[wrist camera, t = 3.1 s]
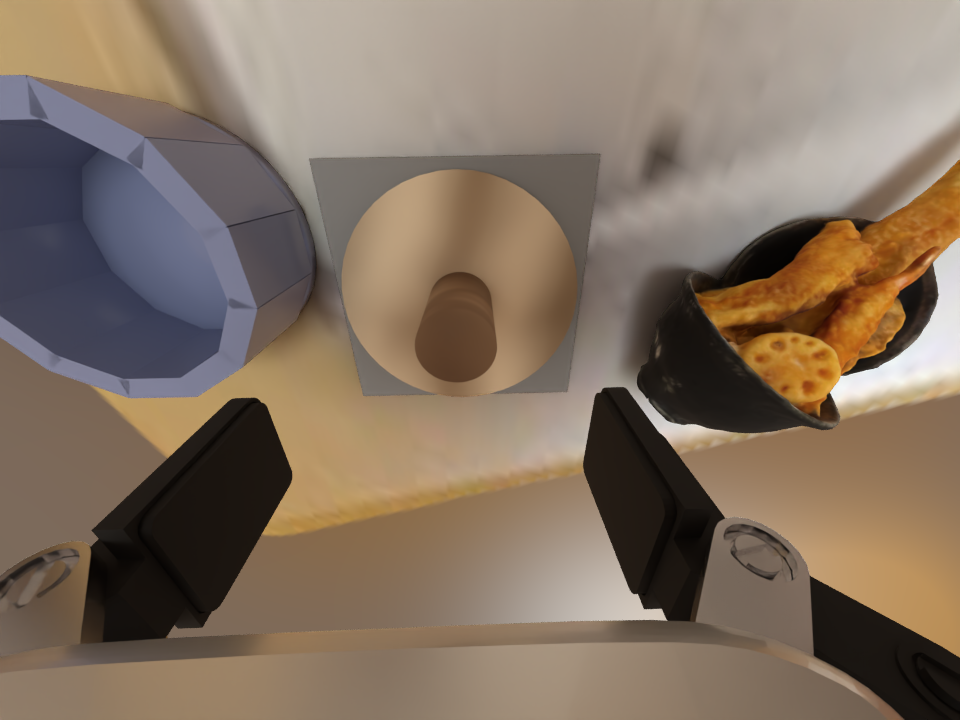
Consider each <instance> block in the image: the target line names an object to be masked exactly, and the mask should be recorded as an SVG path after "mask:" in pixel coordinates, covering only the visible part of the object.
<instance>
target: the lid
mask: <svg viewBox="0 0 960 720" xmlns="http://www.w3.org/2000/svg"><path fill="white" fill-rule="evenodd" d="M342 294H343V301H344V306H345V309H346V313H347V316H348V319H349V322H350V324H351V326H352V328H353V331H354V333H355V334H356V336H357V338H358V339H359V341H360V343H361V344H362V346H363V347H364V348H365V349H366V351H367V352H368V353H369V355H370V356H371V357H372V358H373V359H374V360H375V361H376V362H377V363H378V364H379V365H380V366H382V367H383V368H384V369H385V370H386V371H388V372H389V373H390V374H392V375H393V376H395V377H396V378H398V379H400V380H401V381H403V382H405V383H407V384H409V385H411V386H413V387H416V388H418V389H421V390H424V391H427V392H431V393H435V394H439V395H446V396H457V397H468V396H479V395H485V394H490V393H494V392H497V391H501V390H504V389H506V388H508V387H511V386H513V385H515V384H517V383H519V382H521V381H522V380H524V379H526V378H527V377H529V376H530V375H532V374H533V373H534V372H536V371H537V370H538V369H539V368H540V367H541V366H543V365H544V364H545V363H546V362H547V361H548V360H549V358H550V357H551V356H552V355H553V354H554V353H555V351H556V350H557V348H558V347H559V345H560V344H561V342H562V341H563V339H564V337H565V335H566V333H567V331H568V329H569V327H570V324H571V321H572V318H573V315H574V310H575V305H576V300H577V272H576V267H575V262H574V257H573V254H572V251H571V248H570V245H569V243H568V240H567V238H566V236H565V235H564V233H563V231H562V229H561V227H560V225H559V224H558V223H557V221H556V220H555V219H554V217H553V216H552V215H551V213H550V212H549V211H548V210H547V209H546V208H545V207H544V206H543V205H542V204H541V203H540V202H539V201H538V200H537V199H536V198H534V197H533V196H532V195H530V194H529V193H528V192H526V191H525V190H524V189H522V188H520V187H518V186H517V185H515V184H513V183H511V182H509V181H507V180H505V179H503V178H500V177H497V176H495V175H492V174H489V173H484V172H479V171H475V170H462V169H452V170H441V171H435V172H431V173H427V174H423V175H419V176H416V177H414V178H412V179H409V180H407V181H404V182H402V183H400V184H399V185H397V186H396V187H394V188H392V189H391V190H389V191H387V192H386V193H385V194H384V195H383V196H381V197H380V198H379V199H378V200H377V201H375V202H374V203H373V204H372V206H371V207H370V208H369V209H368V210H367V211H366V212H365V214H364V215H363V216H362V218H361V219H360V221H359V222H358V224H357V226H356V227H355V229H354V231H353V233H352V235H351V238H350V240H349V242H348V244H347V248H346V252H345V256H344V259H343V267H342Z"/></svg>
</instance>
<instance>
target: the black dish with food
mask: <svg viewBox="0 0 960 720" xmlns="http://www.w3.org/2000/svg"><path fill="white" fill-rule="evenodd" d="M957 238H960V160H958V161H957V163H956V164H955V165H954V166H953V167H952V168H951V169H950V170H949V171H948V172H947V173H946V174H945V175H943V176H942V177H941V178H940V179H939V180H938V181H937V182H935V183H934V184H933V185H932V186H931V187H930V188H928V189H927V190H926V191H925V192H924V193H922V194H921V195H920V196H918V197H917V198H915V199H914V200H913V201H912V202H911V203H909V204H908V205H907V206H905V207H904V208H902V209H899V210H898V211H896V212H894V213H893V214H891V215H889V216H887V217H885V218H884V219H882V220H880V221H878V222H872V221H868V220H865V219H861V218H856V217H831V218H818V219H807V220H802V221H799V222H795V223H791V224H788V225H786V226H782V227H780V228H777V229H776V230H774V231H771V232H769V233H768V234H766V235H764V236H763V237H761V238H760V239H758V240H757V241H755V242H754V243H752V244H751V245H750V246H748V247H747V248H746V249H745V251H743V253H742V254H741V255H740V256H739V258H738V259H737V260H736V261H735V262H734V263H733V264H732V266H731V267H730V268H729V270H728V271H727V273H726V274H725V276H724V278H723V279H721V280H717V279H715V278H712V277H710V276H709V275H707V274H705V273H702V272H699V271H694V272H692V273H690V274H688V275H687V276H686V277H685V279H684V282H683V284H682V290H681V294H680V296H679V297H678V298H677V299H676V300H675V301H674V302H673V303H671V304H670V305H669V306H668V308H667V309H666V310H665V311H664V313H663V314H662V317H661V318H660V320H659V321H658V323H657V330H656V333H655V337H654V340H653V343H652V346H651V350H650V356H649V360H648V362H647V363H646V364H645V365H643V366H641V370H640V372H639V373H638V377H637V386H638V388H639V390H640V391H641V392H642V393H643V394H644V395H645V397H646V398H649V402H650V403H651V404H652V406H653V407H654V408H655V409H656V410H657V411H658V412H659V413H660V414H661V415H662V416H663V417H664V418H665V419H666V420H667V421H669V422H672V423H677V424H681V425H686V424H696V425H700V426H703V427H706V428H710V429H715V430H723V431H729V432H737V433H761V432H772V431H778V430H782V429H788V428H793V427H798V426H807V427H812V428H816V429H820V430H829V429H832V428H834V427H835V426H837V425H838V423H839V421H840V415H839V412H838V409H837V407H836V405H835V403H834V400H833V398H832V396H831V394H830V391H831V390H832V389H833V387H834V386H835V385H836V383H837V382H838V380H839V379H840V376H846V375H849V374H853V373H857V372H861V371H865V370H869V369H874V368H878V367H879V366H880V365H882V364H883V363H886V362H888V361H890V360H892V359H894V358H895V357H896V356H898V355H899V354H901V353H902V352H903V351H904V350H905V349H907V348H908V347H909V346H910V345H911V344H912V343H913V342H914V341H915V340H917V338H918V337H919V336H920V334H921V333H922V331H923V329H924V328H925V326H926V325H927V324H928V322H929V321H930V318H931V315H932V313H933V311H934V309H935V307H936V304H937V299H938V287H937V282H936V276H935V272H934V267H933V262H934V261H935V260H936V259H937V258H938V256H939V255H940V254H941V253H942V252H943V251H945V250H946V249H947V248H948V246H949V245H950V244H951V243H952V242H954V241H955V240H956V239H957Z"/></svg>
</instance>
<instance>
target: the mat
mask: <svg viewBox="0 0 960 720" xmlns="http://www.w3.org/2000/svg"><path fill="white" fill-rule="evenodd" d="M309 161H310V165H311V169H312V174H313V178H314V182H315V187H316V191H317V195H318V200H319V204H320V209H321V213H322V217H323V222H324V226H325V230H326V235H327V239H328V244H329V248H330V252H331V257H332V261H333V265H334V270H335V274H336V279H337V283H338V287H339V292H340V296H341V300H342V305H343V309H344V314H345V318H346V322H347V327H348V331H349V335H350V340H351V344H352V348H353V353H354V357H355V362H356V366H357V370H358V375H359V379H360V383H361V388H362V392H363V396H388V395H439V394H435V393H431V392H427V391H424V390H421V389H418V388H416V387H413V386H411V385H409V384H407V383H405V382H403V381H401V380H400V379H398V378H396V377H395V376H393V375H392V374H390V373H389V372H388V371H386V370H385V369H384V368H383V367H382V366H380V365H379V364H378V363H377V362H376V361H375V360H374V359H373V358H372V357H371V356H370V355H369V353H368V352H367V351H366V349H365V348H364V347H363V346H362V344H361V343H360V341H359V339H358V338H357V336H356V334H355V333H354V331H353V328H352V326H351V324H350V322H349V319H348V316H347V313H346V309H345V306H344V301H343V294H342V267H343V259H344V256H345V252H346V248H347V244H348V242H349V240H350V238H351V235H352V233H353V231H354V229H355V227H356V226H357V224H358V222H359V221H360V219H361V218H362V216H363V215H364V214H365V212H366V211H367V210H368V209H369V208H370V207H371V206H372V204H373V203H374V202H375V201H377V200H378V199H379V198H380V197H381V196H383V195H384V194H385V193H386V192H387V191H389V190H391V189H392V188H394V187H396V186H397V185H399V184H400V183H402V182H404V181H407V180H409V179H412V178H414V177H416V176H419V175H423V174H427V173H431V172H435V171H441V170H452V169H462V170H475V171H479V172H484V173H489V174H492V175H495V176H497V177H500V178H503V179H505V180H507V181H509V182H511V183H513V184H515V185H517V186H518V187H520V188H522V189H524V190H525V191H526V192H528V193H529V194H530V195H532V196H533V197H534V198H536V199H537V200H538V201H539V202H540V203H541V204H542V205H543V206H544V207H545V208H546V209H547V210H548V211H549V212H550V213H551V215H552V216H553V217H554V219H555V220H556V221H557V223H558V224H559V225H560V227H561V229H562V231H563V233H564V235H565V236H566V238H567V240H568V243H569V245H570V248H571V251H572V254H573V257H574V262H575V267H576V272H577V300H576V305H575V310H574V315H573V318H572V321H571V324H570V327H569V329H568V331H567V333H566V335H565V337H564V339H563V341H562V342H561V344H560V345H559V347H558V348H557V350H556V351H555V353H554V354H553V355H552V356H551V357H550V358H549V360H548V361H547V362H546V363H545V364H544V365H543V366H541V367H540V368H539V369H538V370H537V371H536V372H534V373H533V374H532V375H530V376H529V377H527V378H526V379H524V380H522V381H521V382H519V383H517V384H515V385H513V386H511V387H508V388H506V389H504V390H501V391H497V392H494V393H544V392H567V390H568V383H569V376H570V369H571V362H572V355H573V347H574V340H575V333H576V326H577V319H578V312H579V304H580V297H581V290H582V283H583V276H584V269H585V261H586V254H587V247H588V240H589V233H590V226H591V218H592V211H593V204H594V197H595V190H596V183H597V176H598V168H599V161H600V154H564V155H503V156H441V157H380V158H318V159H309ZM490 394H492V393H490Z"/></svg>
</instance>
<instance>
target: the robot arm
mask: <svg viewBox="0 0 960 720" xmlns="http://www.w3.org/2000/svg"><path fill="white" fill-rule="evenodd" d="M583 468H584V473H585V476H586V479H587V481H588V484H589V486H590V489H591V491H592V494H593V497H594V499H595V502H596V505H597V507H598V510H599V512H600V515H601V517H602V520H603V522H604V525H605V528H606V530H607V533H608V535H609V538H610V541H611V543H612V546H613V548H614V551H615V553H616V556H617V559H618V561H619V563H620V566H621V569H622V571H623V574H624V576H625V579H626V581H627V584H628V587H629V589H630V590H631V592H632V593H633V594H638V595H639V598H640V600H641V603H642V605H643V608H644V609H662V610H663V612H664V615H665V617H666V619H667V620H668V621H660V620H659V621H658V620H632V621H631V620H628V621H627V620H626V621H570V622H541V623H514V624H487V625H458V626H433V627H408V628H385V629H360V630H337V631H314V632H290V633H270V634H248V635H228V636H206V637H185V638H168V637H167V635H168V634H169V632H170V631H171V629H172V627H173V626H174V625H175V626H176V627H177V628H201V627H203V626H204V624H205V622H206V621H207V619H208V617H209V615H210V614H211V612H212V611H214V610H215V609H217V608H218V607H219V606H220V605H221V603H222V602H223V600H224V599H225V597H226V595H227V593H228V591H229V590H230V588H231V586H232V585H233V583H234V581H235V579H236V578H237V576H238V574H239V573H240V571H241V569H242V567H243V566H244V564H245V562H246V560H247V559H248V557H249V555H250V553H251V552H252V550H253V548H254V546H255V545H256V543H257V541H258V540H259V538H260V536H261V534H262V533H263V531H264V529H265V527H266V526H267V524H268V522H269V520H270V519H271V517H272V515H273V514H274V512H275V510H276V508H277V507H278V505H279V503H280V501H281V500H282V498H283V496H284V494H285V493H286V491H287V489H288V488H289V486H290V484H291V481H292V470H291V468H290V465H289V463H288V460H287V457H286V455H285V452H284V450H283V447H282V444H281V442H280V439H279V437H278V434H277V432H276V429H275V426H274V424H273V421H272V419H271V416H270V414H269V411H268V408H267V406H266V405H265V404H264V403H261V402H260V400H258V399H257V398H235V399H231V400H230V401H228V402H227V403H226V404H225V405H224V406H223V407H222V408H221V409H220V410H219V411H218V412H217V413H216V414H215V415H213V416H212V417H211V418H210V419H209V420H208V421H207V422H206V423H205V424H204V425H203V426H202V427H201V428H200V429H199V430H198V431H196V432H195V433H194V434H193V435H192V436H191V437H190V438H189V439H188V440H187V441H186V442H185V443H184V444H183V445H182V446H181V447H180V448H178V449H177V450H176V451H175V452H174V453H173V454H172V455H171V456H170V457H169V458H168V459H167V460H166V461H165V462H164V463H163V464H162V465H160V466H159V467H158V468H157V469H156V470H155V471H154V472H153V473H152V474H151V475H150V476H149V477H148V478H147V479H146V480H144V481H143V482H142V483H141V484H140V485H139V486H138V487H137V488H136V489H135V490H134V491H133V492H132V493H131V494H130V495H129V496H127V497H126V498H125V499H124V500H123V501H122V502H121V503H120V504H119V505H118V506H117V507H116V508H115V509H114V510H113V511H112V512H111V513H110V514H108V515H107V516H106V517H105V518H104V519H103V520H102V521H101V522H100V523H99V524H98V525H97V526H96V527H95V528H94V529H92V532H94V534H95V535H96V536H97V537H98V538H99V539H98V541H96V542H95V543H94V544H93V545H92V546H91V547H90V546H89V545H88V544H86V543H85V542H80V541H71V542H66V543H61V544H57V545H55V546H52V547H49V548H46V549H44V550H41V551H39V552H37V553H35V554H33V555H31V556H29V557H27V558H25V559H24V560H22V561H20V562H19V563H17V564H16V565H14V566H13V567H11V568H10V569H8V570H6V571H5V572H4V573H3V574H1V575H0V720H960V658H959V657H958V656H956V655H954V654H953V653H951V652H949V651H948V650H946V649H945V648H943V647H941V646H940V645H938V644H936V643H934V642H932V641H930V640H929V639H927V638H924V637H923V636H921V635H919V634H917V633H915V632H914V631H912V630H910V629H908V628H906V627H904V626H902V625H900V624H899V623H897V622H895V621H893V620H891V619H889V618H887V617H885V616H884V615H882V614H880V613H878V612H876V611H874V610H872V609H871V608H869V607H867V606H865V605H863V604H861V603H859V602H857V601H856V600H853V599H852V598H850V597H848V596H846V595H844V594H843V593H841V592H839V591H837V590H835V589H833V588H831V587H829V586H828V585H826V584H824V583H822V582H820V581H818V580H816V579H814V578H813V577H811V576H810V575H809V571H808V567H807V564H806V562H805V561H804V559H803V558H802V556H801V554H800V553H799V552H798V551H797V549H796V548H795V547H794V546H793V545H792V544H791V543H790V542H789V541H788V540H786V539H785V538H784V537H782V536H781V535H780V534H778V533H777V532H775V531H774V530H772V529H770V528H768V527H767V526H765V525H763V524H761V523H758V522H755V521H752V520H750V519H746V518H739V517H732V518H725V517H724V516H723V514H722V513H721V512H720V511H719V509H718V508H717V506H716V505H715V504H714V502H713V501H712V500H711V499H710V497H709V496H708V494H707V493H706V492H705V490H704V489H703V488H702V487H701V485H700V484H699V482H698V481H697V480H696V478H695V477H694V476H693V474H692V473H691V472H690V470H689V469H688V468H687V467H686V465H685V464H684V463H683V461H682V460H681V458H680V457H679V456H678V454H677V453H676V452H675V450H674V449H673V448H672V446H671V445H670V444H669V442H668V441H667V440H666V438H665V437H664V436H663V435H662V434H660V433H659V432H658V431H657V429H656V428H655V427H654V425H653V424H652V423H651V421H650V420H649V419H648V417H647V416H646V415H645V413H644V412H643V410H642V409H641V408H640V406H639V405H638V404H637V402H636V401H635V400H634V398H633V397H632V396H631V394H630V393H629V392H628V390H627V389H626V388H624V387H613V388H603V389H602V391H601V393H597V394H596V395H595V399H594V405H593V411H592V416H591V422H590V427H589V433H588V439H587V444H586V450H585V455H584V461H583Z"/></svg>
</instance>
